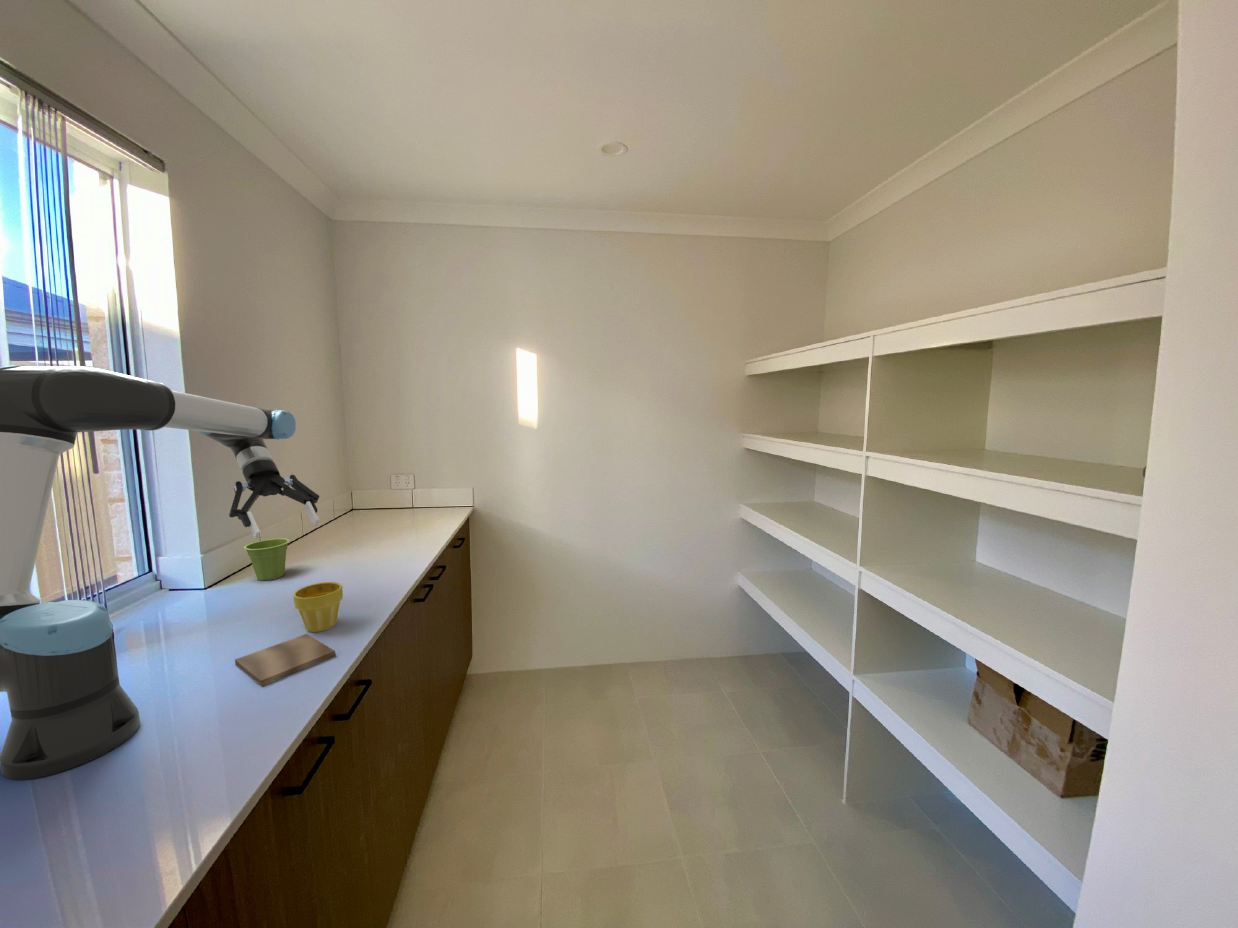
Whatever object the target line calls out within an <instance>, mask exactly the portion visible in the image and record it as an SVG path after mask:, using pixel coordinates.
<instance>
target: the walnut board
mask: <svg viewBox="0 0 1238 928" xmlns="http://www.w3.org/2000/svg"><path fill="white" fill-rule="evenodd" d="M333 657H336V650H334V649H333V648H331V647H329V646H328V645H326V644H324V643H323V642H321V641H319V640H318V639H317V638H314V637H312V636H311V635H310V634H308V633H304V634H302V635H299V636H296V637H294V638H292V639H289V640H288V639H287V640H286V641H283V642H280V643H277V644H274V645H271V646H269V647H267V648H264V649H263V648H262V649H261V650H258V651H255V652H252V653H249V654H247V655H244V656H241V657H239V658H236V659H234V663H235V666H236V667H237V668H238V669H240V670H241V671H242V672H243V673H245V674H246V675H247V676H248V677H249V678H251V679H252V680H253V681H254V682H255V683H257V684H258V685H259V686H260V687H264V686H266V685H269V684H270V683H271V684H272V682H275V681H278V680H280V679H282V678H285V677H287V676H290V675H292V674H295V673H297V672H299V671H300V672H301V671H302V670H304V669H306V668H309V667H312V666H314V665H317V664H319V663H322V662H324V661H326V660H329V659H331V658H333Z"/></svg>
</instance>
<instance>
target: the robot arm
mask: <svg viewBox="0 0 1238 928" xmlns="http://www.w3.org/2000/svg"><path fill="white" fill-rule="evenodd" d="M296 424H297V422H296V419H295V416H294V415H293V414H292V413H291V412H290V411H288V410H280V409H265V408H260V407H255V406H250V405H244V404H240V403H235V402H230V401H227V400H225V401H224V400H221V399H215V398H210V397H205V396H201V395H195V394H191V393H188V392H187V393H186V392H181V391H177V390H172V389H171V388H170V387H168V385H167V384H164V383H162V382H158V381H154V380H149V379H145V378H141V377H137V376H132V375H128V374H125V373H120V372H117V371H116V372H115V371H111V370H106V369H103V368H95V367H90V366H81V365H69V366H68V365H66V366H59V365H57V366H56V365H55V366H53V365H51V366H48V365H47V366H46V365H45V366H44V365H43V366H41V365H39V366H35V365H34V366H33V365H31V366H30V365H28V366H27V365H24V364H23V365H21V364H20V365H5V366H0V693H3V692H4V693H6V695H7V700H8V705H9V711H10V716H11V717H10V718H11V721H10V725H9V727H8V731H7V734H6V737H5V740H4V743H3V746H2V749H1V752H0V770H1V774H2V776H3V777H4V778H6V779H9V780H29V779H31V780H32V779H37V778H41V777H42V778H43V777H47V776H52V775H54V774H57V773H58V774H59V773H61V772H65V771H67V770H71V769H73V768H76V767H78V766H81V765H83V764H85V763H88V762H91V761H93V760H95V759H97V758H99V757H101V756H103V755H105V754H107V753H108V752H111V751H112V750H114V749H116V748H117V747H119V746H120V745H121V744H124V742H126V741H128V740H129V739H130V738H131V737H132V736H133V735H134V734H135V733H136V732H137V730H138V729H139V727H140V725H141V719H140V712H139V710H138V709H139V708H138V707H137V706H136V705H135V703H134V702H133V700H132V699H131V697H130V696H129V695H128V694H127V692H125V690H124V688H123V687H122V686H121V684H120V679H119V678H120V677H119V670H118V661H117V654H116V652H117V651H116V646H115V645H116V644H115V637H114V624H113V622H112V621H111V619H110V615H109V611H108V609H107V608H106V607H105V606H104V605H103V604H101V603H99V602H96V601H92V600H84V599H83V600H82V599H67V600H60V601H56V602H53V601H48V602H41V600H40V599H39V598H38V597H37V596H35V595H34V594H32V593H31V592H30V587H31V582H32V578H33V573H34V569H35V566H36V561H37V556H38V552H39V547H40V543H41V537H42V535H43V529H44V525H45V521H46V517H47V512H48V507H49V502H50V499H51V494H52V490H53V484H54V482H55V481H54V480H55V475H56V471H57V469H58V468H57V467H58V464H59V463H58V462H59V458H60V456H61V454H64V453H66V452H68V451H70V450H72V449H74V447H75V444H76V439H77V435H78V433H92V432H108V431H109V432H110V431H121V430H122V431H123V430H126V431H127V430H139V431H141V430H143V431H151V432H152V431H158V430H161V429H164V428H169V429H178V430H179V429H180V430H187V431H195V432H199V434H201V435H203V436H206V437H208V438H210V439H212V440H214V441H215V442H217V443H220V444H221V445H223V446H224V447H227V448H228V449H230V450H231V451H232V453H233V455H234V457H235V460H236V461H237V464H238V466H239V468H240V470H241V472H242V475H243V477H244V479H245V481H246V482H242V481H240V480H237V481H236V482H235V483H234V487H233V489H234V497H233V500H232V504H231V507H230V511H229V514H228V516H229V517H230V518H235V517H237V519H238V520H240V521H241V523H242V524H243V527H244V528H249V530H250V532H251V535H252V537H253V539H254V540H255V539H259V535H260V534H261V531H260V528H259V526H258V524H257V522H256V520H255V517H254V516H253V513H252V511H250V509H251V508H252V507H253V505H254V504H255V502H256V501H257V500H258V499H259V497H260V496H262V497H263V498H264V497H268V496H276V495H280V496H282V497H283V496H285V497H286V498H290V499H292V500H294V501H296V502H297V503H300V504H303V505H304V510H305V512H306V513H307V517H308V518H309V521H311V524H312V526H313V527H316V526H318V523H319V521H320V518H319V517H318V515H317V513H318V510H319V509H318V507H317V506H316V504H317V503H318V501H319V499H320V495H319V494H318V493H316V491H315V492H314V490H312V489H311V488H309V487H308V486H307V485H306V484H304V483H303V482H301V481H300V480H299V479H298V478H297V476H296V475H294V474H290V475H289V477H283V476H282V475H281V474H280V471H279V469H278V467H277V465H276V462H275V460H274V458H273V457H272V455H271V453H270V451H269V449H268V447H267V444H266V443H265V440H278V441H279V440H285V439H290V438H291V437H292V436H294V434H295V432H296V430H297V426H296ZM246 489H248V491H249V490H250V491H251V492H252V493H251V494H250V495H249V497H248V499H247V500H246V501H245V503H244V504H243V505H242V507H241V509H239V505H240V501H241V498H242V495H243V492H245V491H246Z"/></svg>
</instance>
